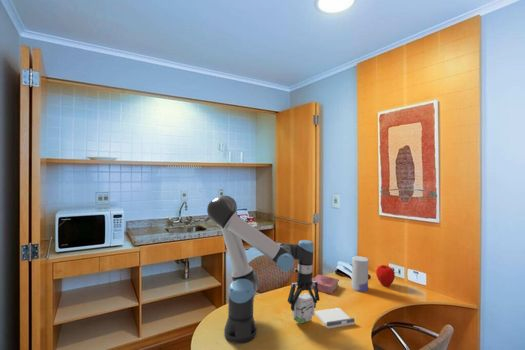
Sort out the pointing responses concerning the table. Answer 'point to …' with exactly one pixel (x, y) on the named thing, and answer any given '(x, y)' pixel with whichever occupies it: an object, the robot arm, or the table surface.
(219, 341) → the table surface
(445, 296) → the table surface
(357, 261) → the container
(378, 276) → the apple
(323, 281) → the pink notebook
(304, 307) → the ink box
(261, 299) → the table surface
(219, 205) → the robot arm
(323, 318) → the white flat box
